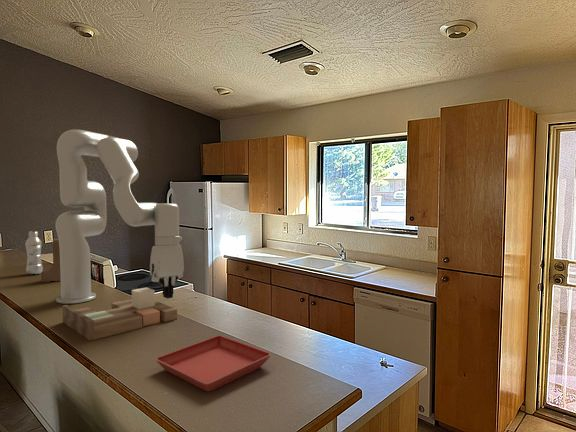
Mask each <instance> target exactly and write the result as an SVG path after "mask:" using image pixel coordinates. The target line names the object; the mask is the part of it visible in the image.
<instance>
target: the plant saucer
mask: <svg viewBox="0 0 576 432" xmlns="http://www.w3.org/2000/svg"><path fill="white" fill-rule="evenodd" d="M271 355H272V353H270V352H267V351H265V350H263V349H260V348H258V347H257V348H256V347H254V346H252V345H248V344H245V343H243V342H240V341H237V340H234V339H231V338H228V337H227V336H223V335H215V336H212V337H210V338H207V339H205V340H201V341H199V342H196V343H194V344H190V345H188V346H185V347H183V348H182V347H181V348H180V349H179V348H178V349H176V350H174V351H172V352H168V353H166V354H163V355H160V356H157V357H155V361H156V362H157V363H158V364H159V366H161V368H162V369H164V370H165V371H166V372H168V373H170V374H171V375H173V376H176V377H177V376H178V378H180V379H182V380H184V381H186V382H188V383H189V384H191V385H194V386H195V387H197V388H199V389H201V390H203V391H205V392H209V391H210V392H212V391H214V390H216V389H219V388H220V387H221V388H222V387H223V386H225V385H226V384H229V383H231V382H234V381H235V380H237V379H240V378H242V377H244V376H246V375H248V374H250V373H251V372H255V371H256V370H258V369H260V368H261V367H262V366H263V365H264V364H265V363H266V362H267V361H268V360H269V359H270V357H271Z"/></svg>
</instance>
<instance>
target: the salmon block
mask: <svg viewBox="0 0 576 432" xmlns="http://www.w3.org/2000/svg"><path fill="white" fill-rule="evenodd" d="M136 315H139V316H141V317H142V327H146V326H150V325H154V324H159V323H161V320H160V311H158V310H156V309H154V308H148V309H143V310H138V311H136Z"/></svg>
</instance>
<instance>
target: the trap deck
mask: <svg viewBox="0 0 576 432" xmlns="http://www.w3.org/2000/svg"><path fill="white" fill-rule="evenodd" d="M61 307H62V323H64V325H66V326H67V327H69V328H70V329H72V330H73V331H74V332H76V333H77V334H79V335H80V336H82V337H84V338H85V340H87V341H94V340H98V339H102V338H107V337H110V336H113V335H114V336H115V335H118V334H123V333H126V332H130V331H134V330H139V329H142V328H143V326H142V317H141V316H139V315H136V311H138V310H143V309H148V308H154V309H156V310H158V311H160V321H161V322H162V321H163V322H165V323H166V322H170V321H174V320H177V319H178V309H177V308H175V307H172V306H170V305H167V304H164V303H162V302H159V301H156V300H155V306H152V307H148V308H143V309H138V308H135V307H133V306H132V298H130V299H126V300H125V299H124V300H120V301H115V302H111V309H106V310H100V311H96V310H94V309H92V308H90V307H89V306H88V307H83V308H77V309H75V308H73V306H70V305H69V304H64V305H62V306H61Z"/></svg>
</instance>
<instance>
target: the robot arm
mask: <svg viewBox="0 0 576 432" xmlns="http://www.w3.org/2000/svg"><path fill="white" fill-rule="evenodd" d="M56 155H57V160H58V166H59V197H60V201H61V204H63V205H64V206H65V207H69V208H81V207H82V208H84V210H70V211H65V212H63V213H61V214H59V215H58V217H57V218H56V221H55V230H56V233H57V234H56V235H57V239H59V248H60V275H61V281H60V295H59V296H57V297H56V298H55V301H56V303H58V304H64V305H69V304H79V303H80V304H81V303H86V302H89V301H93V300H95V299H96V298H97V294H96V293H95V292H92V276H91V273H92V271H91V268H92V267H91V249H90V246H89V244H88V241H87V239H86V237H92V236H93V237H94V236H98V235H101V234H102V233H103V232H105V230H106V227H107V220H108V218H107V215H108V214H107V193H106V190H105V187H104V186H103V185H102V184H101V183H99V182H98V181H96V180H94V181H93V180H88V169H87V168H88V167H87V166H86V163H85V161H84V159H83V158H82V156H88V157H95V158H99V159H100V160H101V162H102V164H103V165H104V168H105V169H106V171H107V172H108V175H109V176H110V178H111V179H112V181H113V188H112V198H113V199H112V200H113V204H114V206H115V208H116V210H117V212H118V213H119V216H120V217H121V218H122V220H123V221H124V222H125V223H126V224H127V225H128V226H131V227H143V226H144V227H145V226H153V225H154V245H153V246H152V248H151V252H150V261H149V274H150V276H151V282H153V283H159V284H160V285H161V286H162V296H163V298H165V299H167V300H168V299H172V298H173V297H174V286H175V284H176V282H177V281H178V280H179V279H181V278H183V277H184V270H185V266H184V265H185V263H184V261H185V260H184V253H183V248H182V244H180V243H181V241H183V237H182V236H180V209H179V205H178V204H177V203H170V202H169V203H167V202H166V203H157V202H152V201H151V202H137V199H135V196H134V195H133V193H132V191H131V185H132V184H133V183H134V182H136V181H137V180H138V178H139V176H140V173H139V170H138V168H137V167H136V165H135V164H134V162H136V160H137V158H138V156H139V149H138V147H137V146H136V144H135V143H134V142H133V141H131V140H129V139H125V138H120V137H116V136H112V135H110V134H109V135H108V134H103V133H100V132H94V131H90V130H85V129H84V130H83V129H75V128H74V129H69V130H67V131H66V130H65V131H64V132H63V133H61V135H60V136H59V137H58V140H57V144H56Z"/></svg>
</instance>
